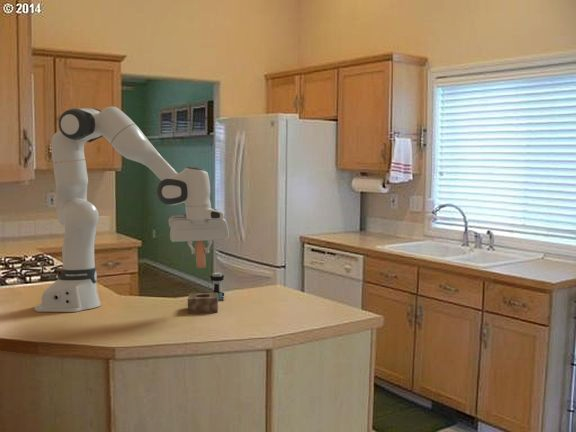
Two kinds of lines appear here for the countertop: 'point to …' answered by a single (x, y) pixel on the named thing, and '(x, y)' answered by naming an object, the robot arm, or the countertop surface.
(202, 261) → the dowel
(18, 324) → the countertop surface
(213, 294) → the socket block
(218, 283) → the push button
